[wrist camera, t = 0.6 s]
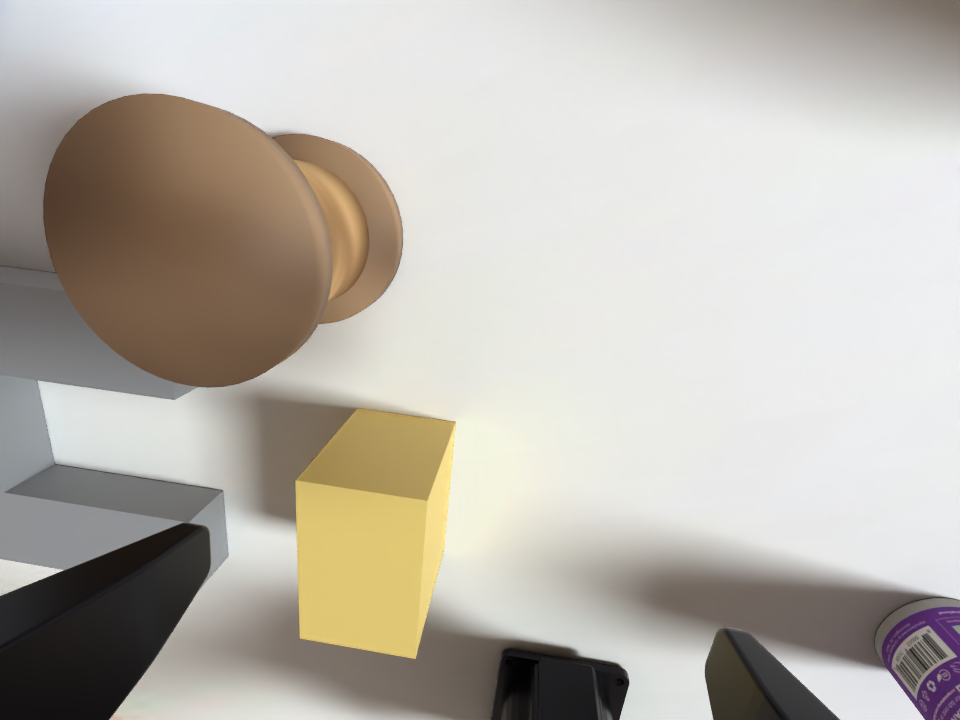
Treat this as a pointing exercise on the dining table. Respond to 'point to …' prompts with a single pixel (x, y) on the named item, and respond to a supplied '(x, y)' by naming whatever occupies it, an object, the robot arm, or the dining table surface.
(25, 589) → the robot arm
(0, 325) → the gray u-shaped block
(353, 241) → the ball
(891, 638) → the container
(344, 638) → the tab
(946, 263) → the dining table surface
